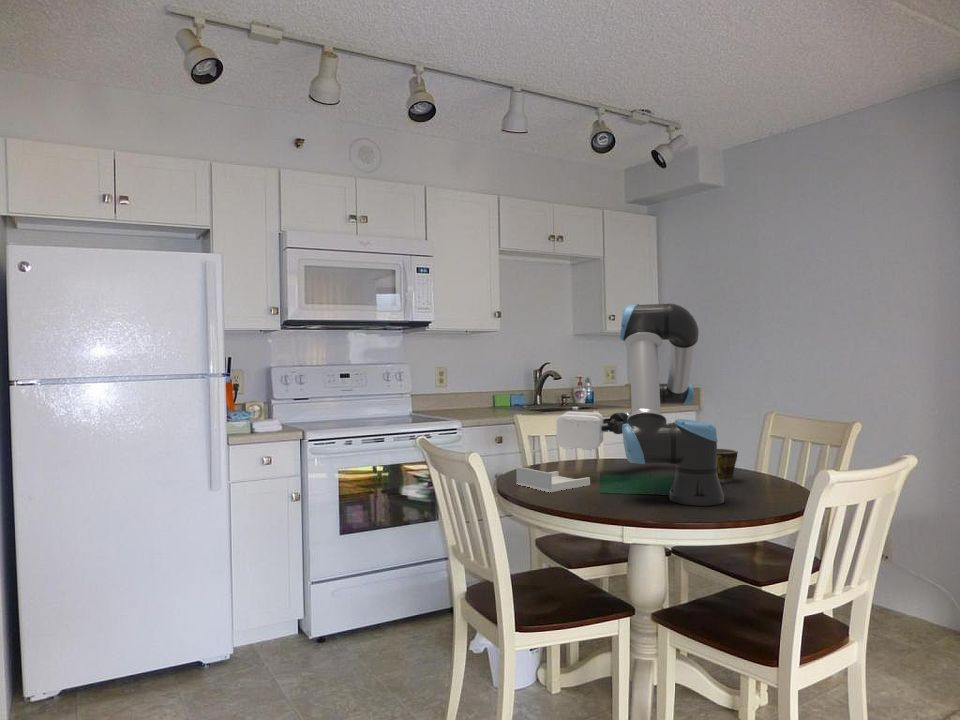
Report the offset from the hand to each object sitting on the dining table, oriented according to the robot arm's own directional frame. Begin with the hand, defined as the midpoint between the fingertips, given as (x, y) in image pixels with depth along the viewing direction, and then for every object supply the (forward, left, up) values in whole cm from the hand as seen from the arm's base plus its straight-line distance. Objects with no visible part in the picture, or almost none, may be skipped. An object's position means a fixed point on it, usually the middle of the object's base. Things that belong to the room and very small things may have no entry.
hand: (579, 427), depth 236 cm
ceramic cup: (-33, -32, -18) cm, 50 cm away
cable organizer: (0, -1, -7) cm, 7 cm away
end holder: (-1, +14, -18) cm, 22 cm away
